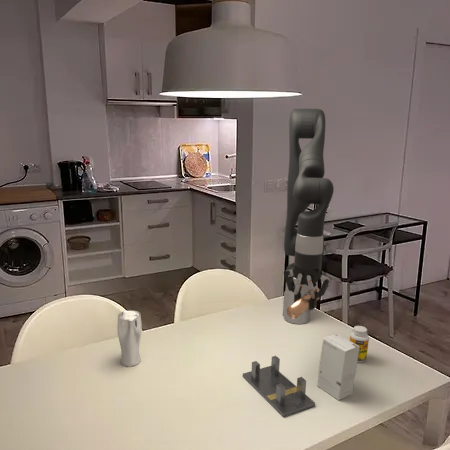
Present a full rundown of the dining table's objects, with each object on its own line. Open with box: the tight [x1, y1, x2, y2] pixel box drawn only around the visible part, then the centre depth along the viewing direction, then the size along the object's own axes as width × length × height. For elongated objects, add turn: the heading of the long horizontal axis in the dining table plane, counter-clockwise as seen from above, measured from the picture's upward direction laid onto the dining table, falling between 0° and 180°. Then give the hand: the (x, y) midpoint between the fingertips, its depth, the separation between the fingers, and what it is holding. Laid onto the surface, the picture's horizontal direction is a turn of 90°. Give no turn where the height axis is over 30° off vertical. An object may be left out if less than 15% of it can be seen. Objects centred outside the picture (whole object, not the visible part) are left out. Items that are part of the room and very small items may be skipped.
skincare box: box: [316, 333, 359, 401], centre depth 125 cm, size 8×6×15 cm
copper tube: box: [287, 287, 321, 319], centre depth 132 cm, size 17×4×4 cm, turn 148°
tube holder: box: [242, 355, 316, 418], centre depth 125 cm, size 20×10×6 cm, turn 28°
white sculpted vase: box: [117, 309, 143, 367], centre depth 137 cm, size 7×7×15 cm
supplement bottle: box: [349, 325, 370, 364], centre depth 142 cm, size 6×6×10 cm
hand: (304, 307), depth 132 cm, fingers closed on copper tube, 3 cm apart
